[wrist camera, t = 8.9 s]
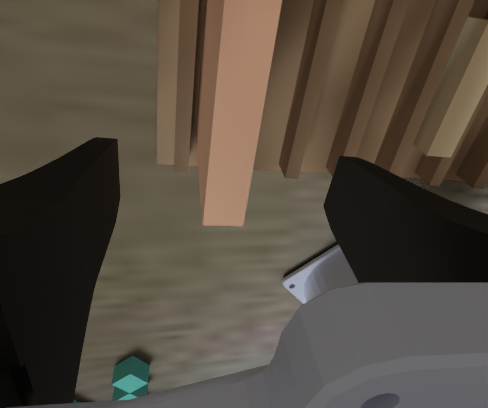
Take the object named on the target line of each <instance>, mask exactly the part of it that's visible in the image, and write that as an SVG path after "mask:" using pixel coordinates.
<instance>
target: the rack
mask: <svg viewBox="0 0 488 408" xmlns="http://www.w3.org/2000/svg"><path fill="white" fill-rule="evenodd" d="M204 12H205V0H158V90H157V164H167V165H174V172H179V173H188V167H189V166H198V159H197V147H196V125H197V111H198V97H199V83H200V68H201V54H202V40H203V26H204ZM468 16H470V17H477V18H482V19H487V20H488V0H282V5H281V11H280V16H279V22H278V28H277V34H276V39H275V45H274V51H273V57H272V62H271V68H270V74H269V80H268V85H267V91H266V97H265V103H264V108H263V114H262V120H261V126H260V131H259V137H258V143H257V149H256V154H255V160H254V166H253V169H255V170H273V171H282V172H283V174H284V176H285V178H294V179H298V177H299V173H300V172H308V173H326V174H331V175H332V176H333V175H334V172H335V168H336V165H337V162H338V159H339V156H350V157H358V158H361V159H364V160H366V161H369V162H371V163H373V164H375V165H377V166H379V167H381V168H383V169H385V170H387V171H389V172H391V173H393V174H395V175H397V176H399V177H401V178H415V179H422V180H424V181H425V182H426V183H427V184H428V185H429V186H440V185H441V183H442V181H443V180H450V181H465V182H466V183H467V184H468V185H470V186H471V187H472V188H484V186H485V184H486V183H488V85H487V87H486V89H485V91H484V93H483V95H482V97H481V99H480V100H479V102H478V104H477V106H476V108H475V110H474V112H473V114H472V116H471V118H470V120H469V122H468V124H467V126H466V128H465V130H464V132H463V134H462V136H461V138H460V140H459V142H458V144H457V146H456V148H455V150H454V152H453V154H452V156H451V158H450V157H436V156H426V155H425V154H424V153H422V152H421V151H420V150H419V149H418V148H416V147H415V146H414V145H413V143H414V140H415V138H416V136H417V133H418V131H419V129H420V126H421V124H422V122H423V119H424V117H425V115H426V112H427V110H428V108H429V105H430V103H431V101H432V98H433V96H434V94H435V91H436V89H437V87H438V85H439V82H440V80H441V78H442V75H443V73H444V71H445V68H446V66H447V64H448V61H449V59H450V57H451V54H452V52H453V50H454V47H455V45H456V43H457V40H458V38H459V36H460V33H461V31H462V29H463V26H464V24H465V22H466V19H467V17H468Z"/></svg>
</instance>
